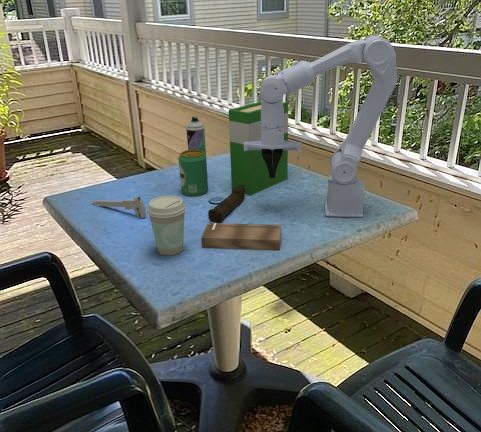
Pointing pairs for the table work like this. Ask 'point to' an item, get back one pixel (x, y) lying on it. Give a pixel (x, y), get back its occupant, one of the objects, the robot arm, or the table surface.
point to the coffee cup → (168, 223)
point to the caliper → (126, 205)
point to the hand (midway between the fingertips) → (272, 176)
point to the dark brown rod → (227, 204)
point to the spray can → (196, 135)
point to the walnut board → (241, 236)
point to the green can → (193, 172)
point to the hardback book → (251, 162)
